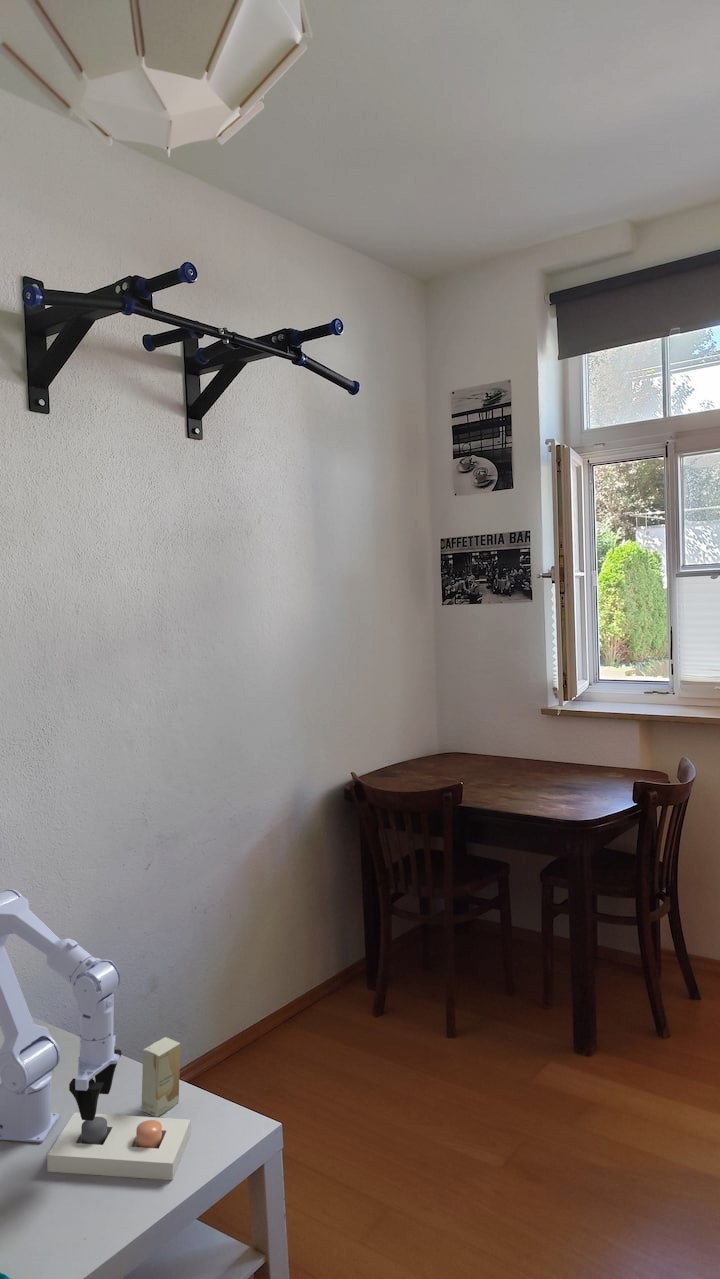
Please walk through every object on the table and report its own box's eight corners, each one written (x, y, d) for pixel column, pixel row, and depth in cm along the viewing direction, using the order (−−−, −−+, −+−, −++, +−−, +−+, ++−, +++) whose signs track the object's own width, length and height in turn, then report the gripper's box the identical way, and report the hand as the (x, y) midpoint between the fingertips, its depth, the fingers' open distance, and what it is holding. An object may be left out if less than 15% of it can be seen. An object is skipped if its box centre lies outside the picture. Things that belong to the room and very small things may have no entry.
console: (47, 1171, 148) (47, 1154, 148) (74, 1127, 160) (74, 1112, 160) (172, 1180, 147) (172, 1163, 146) (190, 1135, 159) (190, 1119, 158)
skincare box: (156, 1118, 163) (157, 1057, 162) (140, 1110, 165) (141, 1049, 165) (180, 1102, 169) (181, 1042, 168) (164, 1094, 171) (165, 1035, 170)
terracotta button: (132, 1151, 151) (133, 1134, 150) (140, 1135, 155) (140, 1119, 155) (157, 1152, 150) (157, 1136, 150) (164, 1136, 155) (164, 1120, 155)
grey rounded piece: (77, 1147, 151) (77, 1131, 151) (86, 1131, 156) (86, 1115, 155) (101, 1149, 151) (101, 1132, 151) (110, 1133, 155) (110, 1117, 155)
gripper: (104, 1056, 145) (103, 1133, 146) (131, 1013, 159) (130, 1083, 160) (63, 1053, 145) (63, 1130, 146) (94, 1011, 160) (93, 1081, 160)
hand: (95, 1105), depth 153 cm, fingers open, 7 cm apart
